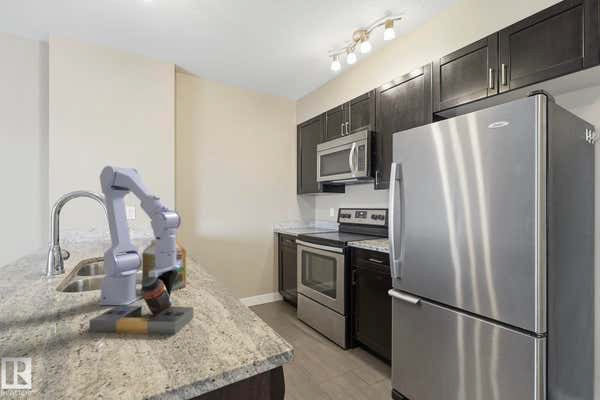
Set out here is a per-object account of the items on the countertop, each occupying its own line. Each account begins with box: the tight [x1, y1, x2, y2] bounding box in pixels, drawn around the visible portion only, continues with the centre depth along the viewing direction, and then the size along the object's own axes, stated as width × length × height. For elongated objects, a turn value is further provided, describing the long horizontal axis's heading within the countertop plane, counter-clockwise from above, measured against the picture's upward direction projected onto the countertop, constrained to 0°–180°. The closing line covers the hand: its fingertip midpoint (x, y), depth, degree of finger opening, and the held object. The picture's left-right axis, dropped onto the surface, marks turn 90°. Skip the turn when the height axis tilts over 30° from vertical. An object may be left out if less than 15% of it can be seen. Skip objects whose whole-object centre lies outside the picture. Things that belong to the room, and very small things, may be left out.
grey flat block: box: [88, 305, 194, 335], centre depth 75 cm, size 22×10×3 cm, turn 86°
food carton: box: [141, 236, 187, 292], centre depth 106 cm, size 11×11×19 cm
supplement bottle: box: [140, 276, 173, 316], centre depth 80 cm, size 6×6×11 cm
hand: (166, 296), depth 85 cm, fingers closed, pressing on supplement bottle
